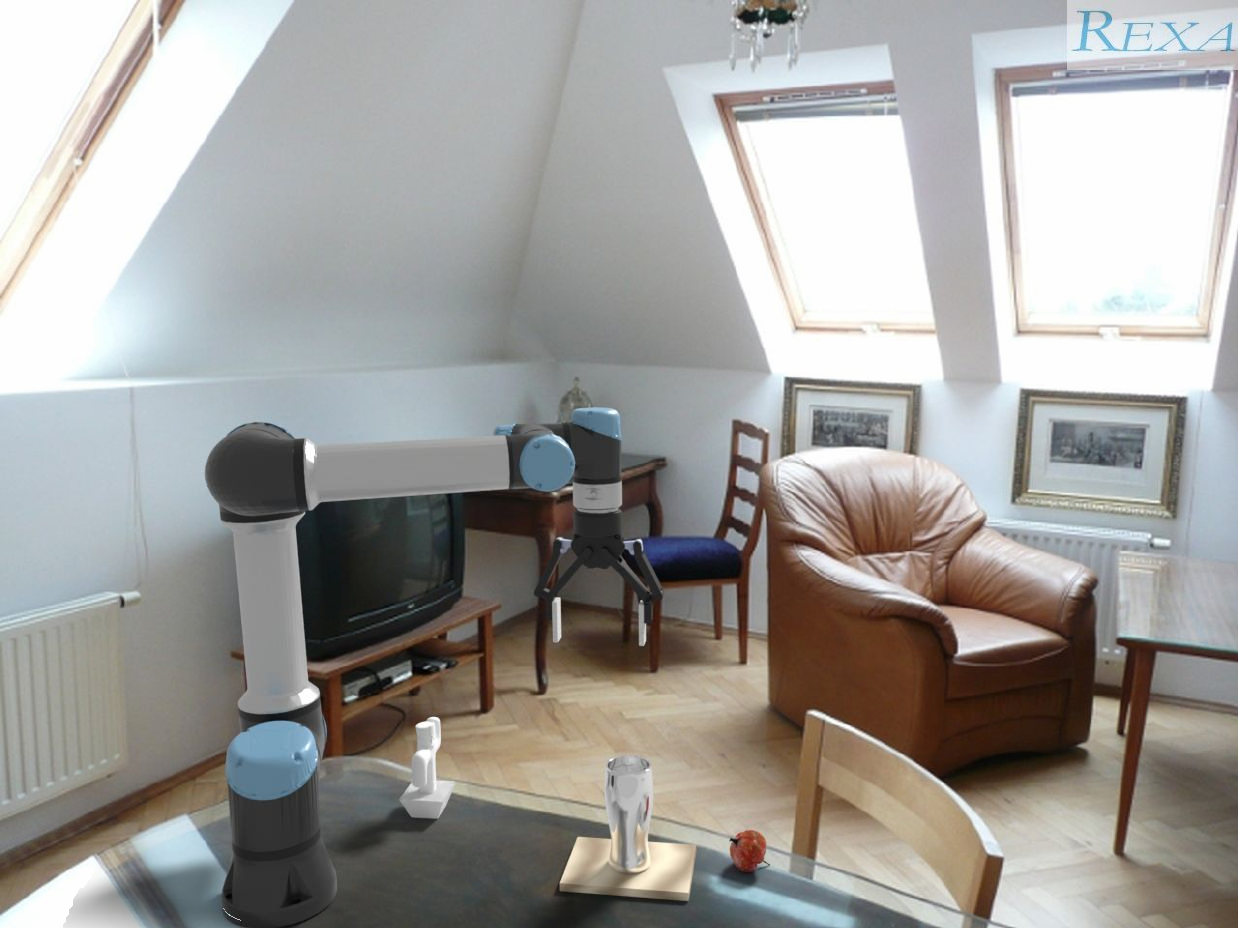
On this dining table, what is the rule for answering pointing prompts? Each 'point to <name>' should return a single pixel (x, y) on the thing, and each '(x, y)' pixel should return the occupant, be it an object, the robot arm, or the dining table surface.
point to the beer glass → (629, 812)
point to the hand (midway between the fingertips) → (599, 641)
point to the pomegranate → (748, 850)
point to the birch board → (658, 881)
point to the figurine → (426, 775)
